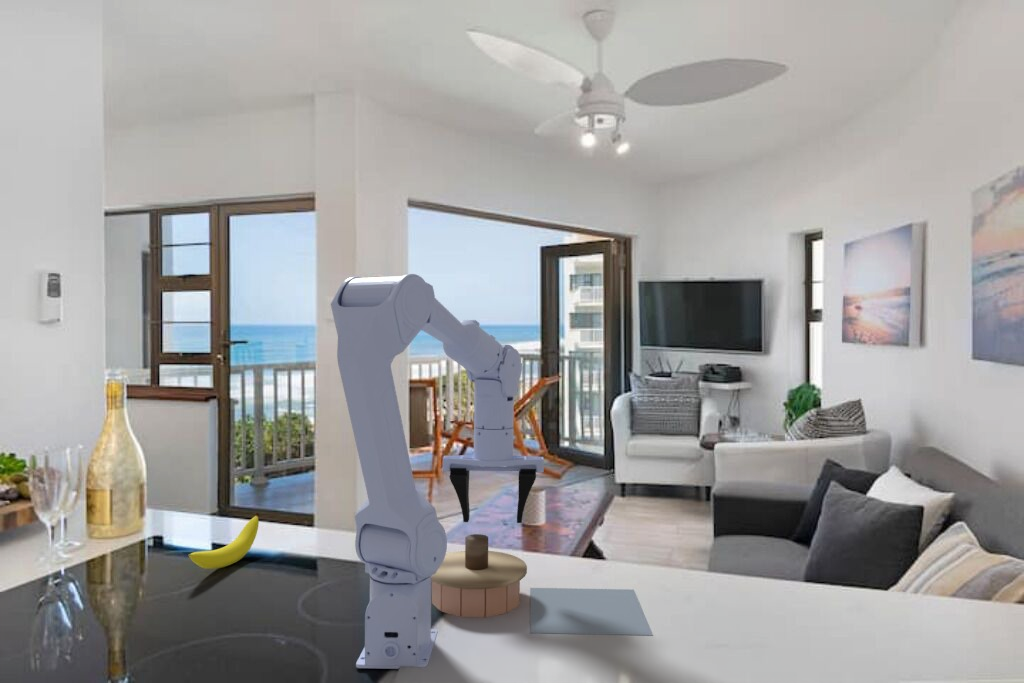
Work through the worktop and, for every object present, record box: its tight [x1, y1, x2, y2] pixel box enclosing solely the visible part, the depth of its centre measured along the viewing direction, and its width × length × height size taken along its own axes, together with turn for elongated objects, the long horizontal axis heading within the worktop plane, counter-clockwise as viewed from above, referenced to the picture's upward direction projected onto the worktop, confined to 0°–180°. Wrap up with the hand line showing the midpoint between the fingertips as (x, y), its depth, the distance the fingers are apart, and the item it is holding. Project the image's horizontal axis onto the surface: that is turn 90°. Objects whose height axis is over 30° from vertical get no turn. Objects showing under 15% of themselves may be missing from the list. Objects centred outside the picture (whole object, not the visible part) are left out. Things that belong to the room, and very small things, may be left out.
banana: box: [188, 512, 261, 570], centre depth 108 cm, size 3×19×6 cm, turn 171°
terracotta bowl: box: [431, 580, 521, 618], centre depth 94 cm, size 12×12×4 cm
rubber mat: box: [529, 587, 653, 637], centre depth 91 cm, size 15×15×1 cm
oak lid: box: [431, 533, 528, 589], centre depth 94 cm, size 14×14×5 cm
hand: (492, 520), depth 98 cm, fingers open, 7 cm apart
